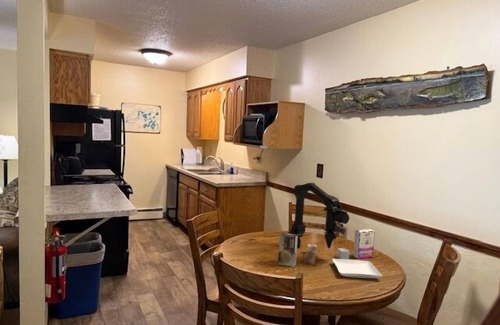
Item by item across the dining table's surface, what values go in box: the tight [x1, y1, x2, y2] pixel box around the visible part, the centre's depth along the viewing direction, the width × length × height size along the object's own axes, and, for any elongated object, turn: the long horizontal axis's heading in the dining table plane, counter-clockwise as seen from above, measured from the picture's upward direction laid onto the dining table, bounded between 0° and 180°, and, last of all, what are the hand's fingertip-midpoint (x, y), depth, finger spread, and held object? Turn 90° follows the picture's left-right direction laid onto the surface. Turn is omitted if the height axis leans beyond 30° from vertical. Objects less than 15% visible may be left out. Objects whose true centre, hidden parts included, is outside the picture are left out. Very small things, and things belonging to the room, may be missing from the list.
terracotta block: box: [323, 239, 335, 251], centre depth 198 cm, size 5×5×5 cm
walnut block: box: [303, 251, 317, 265], centre depth 194 cm, size 5×5×5 cm
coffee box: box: [277, 232, 298, 268], centre depth 189 cm, size 9×6×16 cm
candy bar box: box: [352, 228, 376, 260], centre depth 207 cm, size 11×5×16 cm, turn 112°
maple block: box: [306, 243, 318, 256], centre depth 208 cm, size 5×5×5 cm
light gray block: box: [336, 248, 351, 260], centre depth 204 cm, size 5×5×5 cm
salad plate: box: [332, 258, 383, 279], centre depth 184 cm, size 21×21×3 cm
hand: (328, 246), depth 198 cm, fingers closed on terracotta block, 5 cm apart
